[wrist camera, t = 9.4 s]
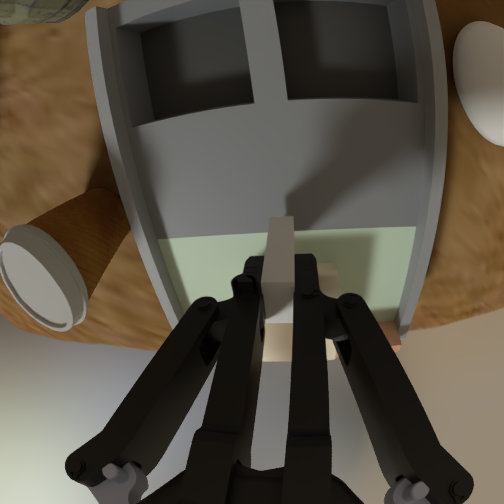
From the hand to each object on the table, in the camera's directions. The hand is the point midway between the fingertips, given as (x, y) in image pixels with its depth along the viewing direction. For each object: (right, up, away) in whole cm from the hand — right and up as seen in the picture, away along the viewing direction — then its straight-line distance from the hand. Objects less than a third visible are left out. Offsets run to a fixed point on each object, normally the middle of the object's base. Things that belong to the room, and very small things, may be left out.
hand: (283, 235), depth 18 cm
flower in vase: (+18, +14, -5) cm, 23 cm away
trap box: (0, +7, +2) cm, 7 cm away
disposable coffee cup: (-17, +3, +7) cm, 19 cm away
